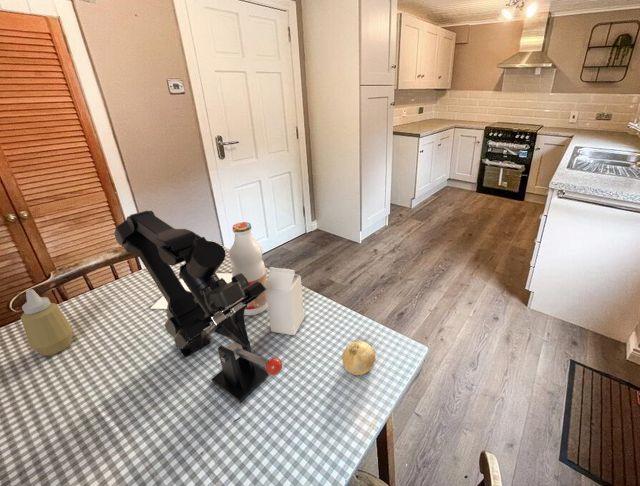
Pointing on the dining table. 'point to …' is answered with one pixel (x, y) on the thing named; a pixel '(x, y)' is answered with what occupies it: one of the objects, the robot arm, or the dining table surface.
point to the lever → (256, 359)
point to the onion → (358, 358)
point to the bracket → (238, 374)
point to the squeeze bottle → (45, 325)
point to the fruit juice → (249, 264)
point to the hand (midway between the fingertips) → (247, 345)
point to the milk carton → (284, 300)
